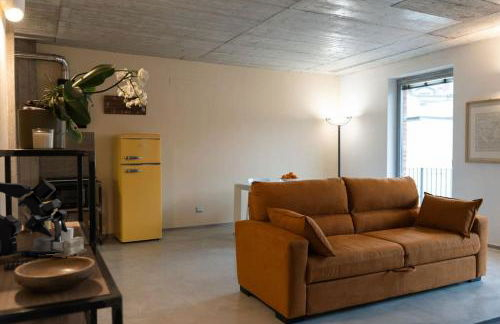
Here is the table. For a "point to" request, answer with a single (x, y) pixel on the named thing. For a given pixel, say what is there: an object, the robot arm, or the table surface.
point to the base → (70, 248)
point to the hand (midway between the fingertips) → (59, 233)
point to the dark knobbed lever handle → (57, 236)
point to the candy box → (49, 223)
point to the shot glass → (67, 234)
